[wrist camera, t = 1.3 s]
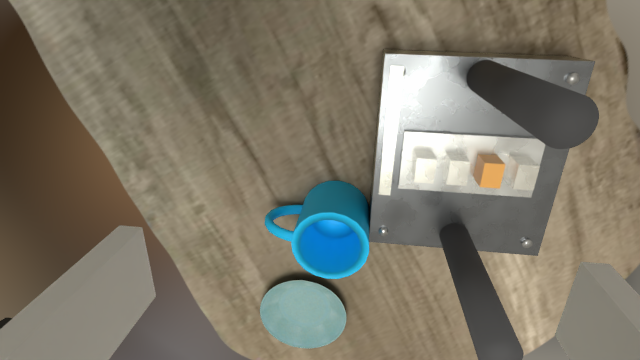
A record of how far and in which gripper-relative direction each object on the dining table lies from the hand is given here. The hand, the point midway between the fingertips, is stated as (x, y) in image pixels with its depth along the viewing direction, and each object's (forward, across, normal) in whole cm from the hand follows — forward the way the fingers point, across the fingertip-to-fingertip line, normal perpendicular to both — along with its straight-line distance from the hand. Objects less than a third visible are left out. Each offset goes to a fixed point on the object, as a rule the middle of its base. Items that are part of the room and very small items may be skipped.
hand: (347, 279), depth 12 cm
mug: (+32, -4, -15) cm, 36 cm away
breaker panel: (+32, +11, -6) cm, 35 cm away
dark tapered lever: (+27, +11, +2) cm, 30 cm away
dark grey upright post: (+27, +11, -14) cm, 33 cm away
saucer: (+32, -6, -31) cm, 45 cm away
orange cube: (+27, +12, -6) cm, 30 cm away
